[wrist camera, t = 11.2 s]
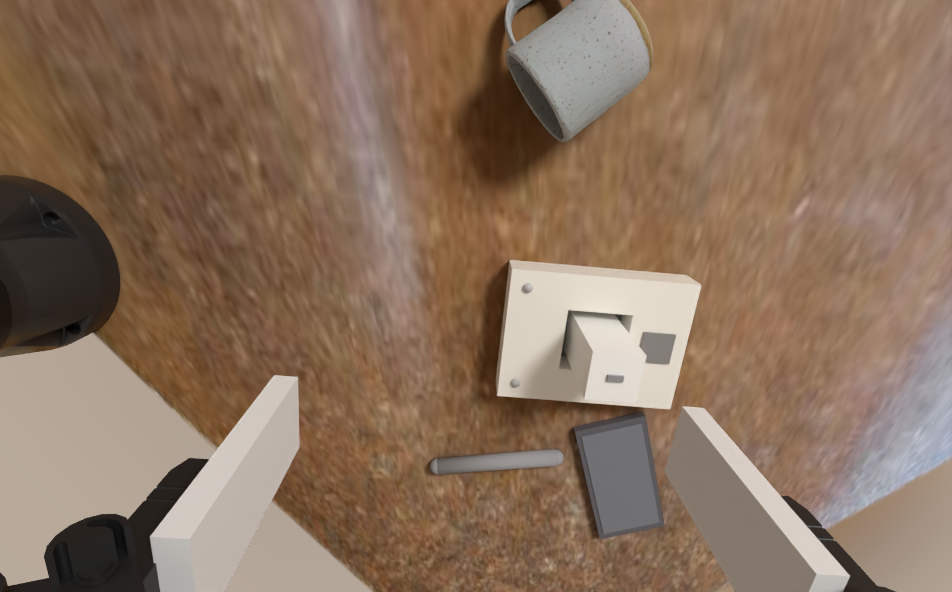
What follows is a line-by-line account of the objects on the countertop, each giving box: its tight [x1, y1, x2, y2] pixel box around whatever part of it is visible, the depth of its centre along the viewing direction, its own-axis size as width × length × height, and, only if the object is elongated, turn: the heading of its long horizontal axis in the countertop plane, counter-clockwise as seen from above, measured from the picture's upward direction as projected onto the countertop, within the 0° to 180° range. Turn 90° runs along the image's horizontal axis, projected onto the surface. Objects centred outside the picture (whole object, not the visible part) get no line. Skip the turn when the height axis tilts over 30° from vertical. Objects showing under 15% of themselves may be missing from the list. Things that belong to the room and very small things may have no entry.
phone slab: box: [573, 412, 665, 539], centre depth 49 cm, size 7×14×1 cm, turn 15°
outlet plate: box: [496, 260, 701, 409], centre depth 43 cm, size 16×12×3 cm
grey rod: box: [430, 449, 564, 474], centre depth 49 cm, size 14×2×2 cm, turn 95°
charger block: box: [563, 310, 647, 403], centre depth 40 cm, size 4×4×9 cm
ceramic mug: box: [504, 0, 653, 142], centre depth 34 cm, size 11×8×8 cm
